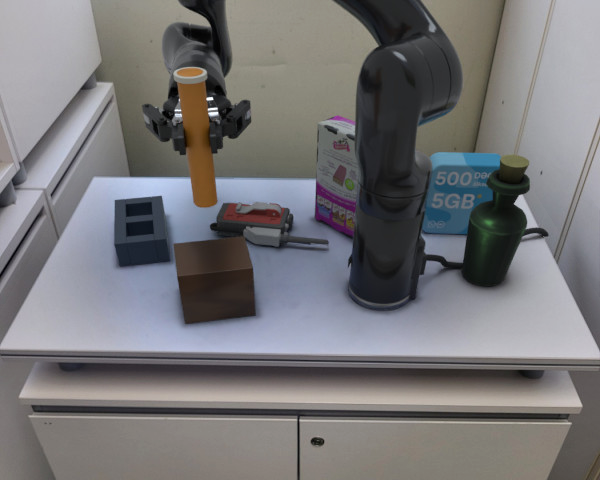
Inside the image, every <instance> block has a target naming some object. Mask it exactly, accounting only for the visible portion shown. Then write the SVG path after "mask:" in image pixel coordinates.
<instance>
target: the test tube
mask: <svg viewBox="0 0 600 480" xmlns="http://www.w3.org/2000/svg"><path fill="white" fill-rule="evenodd" d="M173 76H174V80H175V81H176V82H177V84H178V92H179V99H180V106H181V113H182V121H183V127H184V134H185V141H186V157H187V164H188V170H189V171H188V172H189V180H190V185H191V193H192V200H193V201H192V202H193V204H194V206H195V207H197V208H201V209H203V208H204V209H207V208H212V207H214V206H216V205H217V204H218V202H219V200H218V191H217V183H216V182H217V181H216V172H215V164H214V154H212V153H211V143H210V131H209V126H210V124H209V114H208V105H207V95H206V86H205V80H206V79H207V71H206V70H205V69H203V68H199V67H185V68H180V69H177V70H175V71H174V73H173Z"/></svg>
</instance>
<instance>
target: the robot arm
mask: <svg viewBox="0 0 600 480" xmlns="http://www.w3.org/2000/svg"><path fill="white" fill-rule="evenodd" d="M331 1H332V2H333V3H335V4H336V5H337V6H339V7H340V8H341V9H343V10H344V11H346V12H347V13H348V14H350V15H351V16H352V17H353V18H355V19H356V20H357V21H358V22H359V23H360V24H361V25H362V26H363V27H364V29H366V31H367V32H368V33H369V34H370V36H371V37H372V38H373V40H374V41H375V42H376V44H377V46H376V47H375V48H373V49H372V50H370V52H368V54H366V56H365V58H364V60H363V61H362V63H361V66H360V69H359V71H358V76H357V81H356V91H355V108H354V110H355V111H354V112H355V113H354V122H355V156H356V160H357V164H358V168H359V175H358V186H357V198H356V210H355V222H354V233H353V238H352V246H351V254H350V256H349V258H348V259H347V268H349V267H350V271H349V279H348V286H347V292H348V295H349V296H350V298H351V299H352V300H353V301H354V302H355V303H357V304H359V305H360V306H362V307H365V308H368V309H373V310H376V311H377V310H378V311H387V310H393V309H398V308H400V307H403V306H405V305H406V304H407V303H408V302H409V301H413V300H416V297H417V291H418V287H419V281H420V276H424V275H425V270H426V265H427V262H437V263H440V265H441V266H442V267H444V268H446V269H455V270H456V269H457V270H462V265H463V262H455V261H449V260H447V259H446V258H445V257H444V256H442V255H438V254H431V253H430V254H427V253H426V252H425V250H426V240H425V239H424V237H423V236H422V233H423V222H424V217H425V211H426V205H427V200H428V194H429V188H430V184H431V178H432V172H433V165H432V161H431V160H430V157H429V155H427V154H426V153H424V152H423V151H422V150H419V149H416V146H417V136H418V128H419V127H421V126H424V125H426V124H429V123H432V122H433V121H436V120H438V119H440V118H442V117H444V116H446V115H448V114H449V113H450V112H451V111H453V110H454V109H455V107H457V105H458V103H459V101H460V100H461V96H462V94H463V93H462V92H463V90H464V89H463V88H464V73H463V67H462V62H461V60H460V59H461V58H460V56H459V54H458V51H457V50H456V47H455V46H454V44H453V43H452V40H451V39H450V38H449V36H448V35H447V33H446V32H445V30H444V29H443V28H442V26H441V25H440V23H438V21H437V19H436V18H435V17H434V15H433V14H432V13H431V12H430V10H429V8H428V7H427V6H426V5H425V4H424V2H423V1H422V0H331ZM177 2H178V4H180V5H181V6H182V7H183V8H185V9H187V10H188V11H191V12H193V13H196V14H198V15H199V16H201V17H203V18H204V19H205V20H206V21H207V23H208V24H209V26H207V25H202V24H195V23H189V22H184V21H175V22H172V23H170V24H169V25H167V26H166V28H165V29H164V31H163V34H162V37H161V55H162V60H163V63H164V66H165V68H166V70H167V72H168V74H169V78H168V88H167V100H166V101H164V102H163V104H162V107H159V106H154V105H153V104H151V103H144V104H142V105H141V109H142V114H143V120H144V125H145V128H146V129H147V130H148V131H149V132H150V133H151V134H152V135H154V137H155V138H156V139H157V140H159V142H161V143H168V142H169V141H171V142H172V149H173V151H174V152H179V156H187V150H186V141H185V134H184V127H183V121H182V113H181V106H180V99H179V92H178V84H177V82H176V81H175V80H174V76H173V73H174V71H175V70H177V69H180V68H185V67H199V68H203V69H205V70H206V71H207V79H206V80H205V86H206V95H207V105H208V114H209V124H210V126H209V131H210V143H211V153H212V154H213V155H214V154H215V155H217V154H219V153H218V152H219V151H218V150H222V149H223V148H224V138H225V137H227V138H228V139H229V140H236V139H238V138H239V137H240V136H241V134H242V133H244V131H245V130H246V129H247V128H248V127H249V125H251V123H252V106H251V100H249V99H242V100H240V101H239V102H235V103H234V104H232V101H231V100H230V99H229V98H228V92H227V86H226V80H225V79H226V77H227V76H228V75H229V74H230V72H231V70H232V66H233V61H234V59H233V47H232V41H231V36H230V32H229V25H228V19H227V5H226V2H227V1H226V0H177ZM532 234H533V235H534V234H538V235H540V236H542V237H543V238H548V237H549V236H550V234H549V232H548V231H547V230H546V229H545V228H542V227H536V226H535V227H530V228H526V230H525V232H524V234H523V237H525V236H529V235H532Z"/></svg>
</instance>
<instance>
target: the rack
mask: <svg viewBox="0 0 600 480" xmlns="http://www.w3.org/2000/svg"><path fill="white" fill-rule="evenodd" d="M166 216H167V215H166V211H165V206H164V200H163V195H153V196H141V197H132V198H131V197H129V198H120V199H114V218H113V219H114V223H113V224H114V225H113V226H114V228H113V230H114V231H113V237H114V238H113V245H114V249H115V253H116V258H117V262H118V265H119V267H126V266H135V265H136V266H137V265H145V264H156V263H163V262H164V263H165V262H170V261H171V255H170V246H169V237H168V226H167V218H166Z"/></svg>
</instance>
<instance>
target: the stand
mask: <svg viewBox="0 0 600 480" xmlns="http://www.w3.org/2000/svg"><path fill="white" fill-rule="evenodd" d="M172 245H173V255H174V263H175V271H176V279H177V284H178V291H179V297H180V303H181V307H182V308H181V309H182V314H183V319H184V324H185V325H189V324H196V323H197V324H198V323H206V322H214V321H221V320H229V319H230V320H231V319H237V318H246V317H252V316H256V315H257V314H256V295H255V278H254V266H253V262H252V259H251V255H250V252H249V248H248V244H247V239H246V238H245V237H244V236H241V237H235V236H230V237H224V238H223V237H222V238H213V239H205V240H203V239H202V240H194V241H183V242H175V243H173V244H172Z"/></svg>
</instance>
